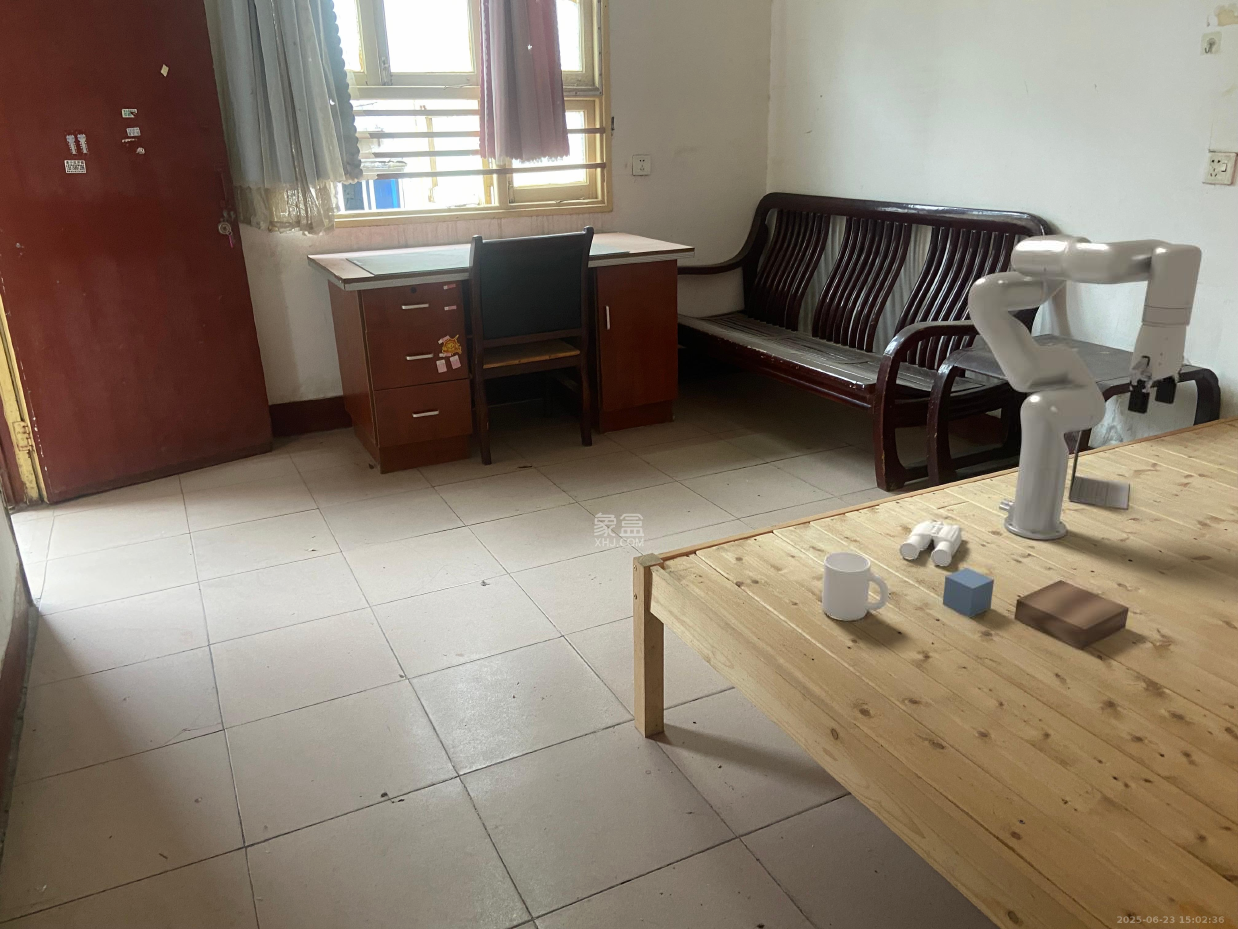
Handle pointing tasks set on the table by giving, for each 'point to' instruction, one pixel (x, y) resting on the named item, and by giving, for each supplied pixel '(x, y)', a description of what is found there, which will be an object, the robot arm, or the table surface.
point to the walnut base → (1071, 614)
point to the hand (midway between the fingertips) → (1150, 407)
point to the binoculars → (943, 538)
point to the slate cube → (968, 592)
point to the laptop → (1097, 489)
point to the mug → (849, 586)
